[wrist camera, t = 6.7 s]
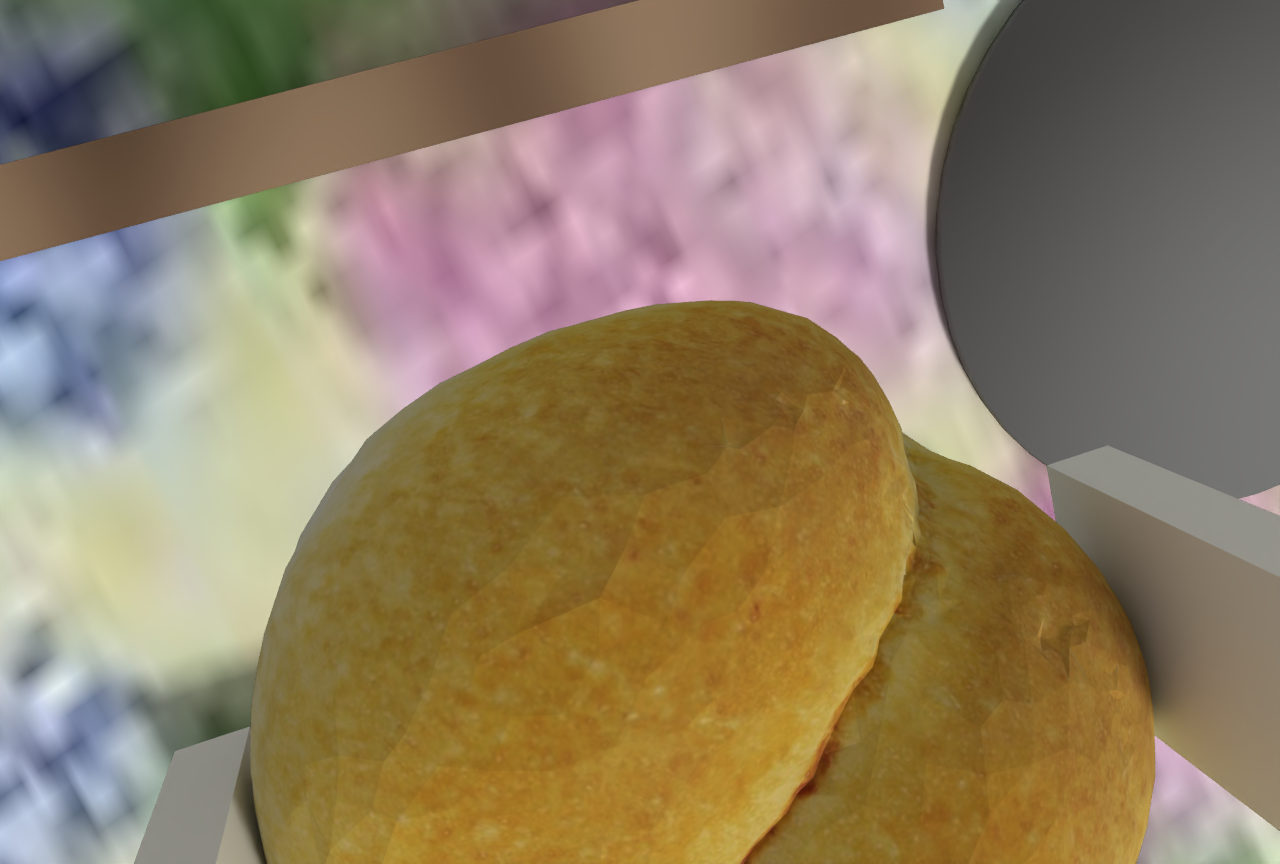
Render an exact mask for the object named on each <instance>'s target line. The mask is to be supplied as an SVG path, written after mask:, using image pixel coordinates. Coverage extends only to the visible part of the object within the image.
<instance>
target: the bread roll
mask: <svg viewBox="0 0 1280 864" xmlns="http://www.w3.org/2000/svg"><path fill="white" fill-rule="evenodd" d="M250 766H251V777H252V783H253V795H254V804H255V813H256V818H257V822H258V827H259V831H260V836H261V840H262V845H263V849H264V854H265V858H266V862H267V864H1136V862H1137V859H1138V856H1139V853H1140V849H1141V846H1142V842H1143V839H1144V836H1145V832H1146V829H1147V824H1148V818H1149V811H1150V804H1151V798H1152V792H1153V787H1154V781H1155V739H1154V715H1153V703H1152V695H1151V689H1150V683H1149V678H1148V673H1147V669H1146V666H1145V662H1144V659H1143V655H1142V652H1141V649H1140V647H1139V644H1138V641H1137V638H1136V636H1135V633H1134V630H1133V627H1132V625H1131V622H1130V620H1129V619H1128V617H1127V615H1126V613H1125V611H1124V609H1123V608H1122V606H1121V604H1120V602H1119V600H1118V598H1117V597H1116V595H1115V594H1114V592H1113V590H1112V589H1111V587H1110V585H1109V584H1108V582H1107V581H1106V579H1105V577H1104V576H1103V574H1102V572H1101V571H1100V569H1099V568H1098V567H1097V566H1096V565H1095V564H1094V562H1093V561H1092V560H1091V559H1090V558H1089V557H1088V555H1087V554H1086V553H1085V552H1084V551H1083V550H1082V549H1081V547H1080V546H1079V545H1078V544H1077V543H1076V542H1075V540H1074V539H1073V538H1072V537H1071V536H1070V535H1069V533H1068V532H1067V531H1066V530H1065V529H1064V528H1063V527H1062V526H1060V525H1059V524H1058V523H1057V522H1055V521H1054V520H1053V519H1052V518H1051V517H1049V516H1048V515H1047V514H1046V513H1045V512H1043V511H1042V510H1041V509H1040V508H1039V507H1037V506H1036V505H1035V504H1034V503H1033V502H1031V501H1030V500H1029V499H1028V498H1026V497H1025V496H1024V495H1023V494H1022V493H1020V492H1019V491H1018V490H1016V489H1014V488H1012V487H1011V486H1009V485H1007V484H1005V483H1003V482H1001V481H999V480H997V479H995V478H993V477H991V476H989V475H987V474H986V473H984V472H982V471H980V470H978V469H976V468H974V467H972V466H970V465H967V464H964V463H960V462H957V461H954V460H951V459H948V458H946V457H944V456H941V455H939V454H936V453H934V452H932V451H929V450H928V449H926V448H925V447H923V446H922V445H920V444H919V443H917V442H916V441H914V440H913V439H911V438H910V437H908V436H907V435H905V434H904V433H903V432H902V429H901V427H900V424H899V422H898V420H897V418H896V416H895V414H894V411H893V409H892V407H891V405H890V403H889V401H888V399H887V397H886V395H885V394H884V392H883V390H882V389H881V387H880V385H879V384H878V382H877V380H876V379H875V377H874V375H873V374H872V373H871V371H870V370H869V369H868V368H867V366H866V365H865V364H864V363H863V361H862V360H861V359H860V358H859V357H858V356H857V355H856V354H855V353H853V352H852V351H851V350H850V349H848V348H847V347H846V346H845V345H844V344H843V343H842V342H841V341H840V340H839V339H838V338H836V337H835V336H833V335H832V334H830V333H829V332H827V331H826V330H824V329H823V328H821V327H820V326H818V325H817V324H815V323H814V322H812V321H811V320H809V319H808V318H805V317H801V316H798V315H794V314H790V313H787V312H783V311H780V310H776V309H773V308H769V307H766V306H762V305H759V304H755V303H752V302H741V301H696V302H682V303H669V304H656V305H651V306H646V307H641V308H636V309H631V310H626V311H622V312H618V313H615V314H611V315H608V316H604V317H601V318H597V319H593V320H590V321H586V322H583V323H579V324H576V325H572V326H568V327H564V328H560V329H556V330H552V331H549V332H547V333H544V334H542V335H540V336H537V337H535V338H533V339H530V340H528V341H526V342H523V343H521V344H519V345H516V346H514V347H512V348H509V349H507V350H505V351H504V352H502V353H500V354H498V355H496V356H494V357H492V358H490V359H488V360H486V361H484V362H482V363H480V364H478V365H476V366H474V367H472V368H470V369H468V370H466V371H464V372H462V373H460V374H458V375H456V376H454V377H452V378H450V379H448V380H446V381H444V382H441V383H439V384H438V385H437V386H435V387H434V388H432V389H431V390H429V391H428V392H426V393H425V394H424V395H422V396H421V397H419V398H418V399H416V400H415V401H414V402H412V403H411V404H409V405H408V406H406V407H405V408H404V409H402V410H401V411H400V412H399V413H398V414H396V415H395V416H394V417H393V418H392V419H390V420H389V421H388V422H387V423H386V424H384V425H383V426H382V427H381V428H380V429H378V430H377V431H376V432H375V433H374V434H372V435H371V436H370V437H369V438H368V439H366V441H365V442H364V444H363V445H362V447H361V448H360V450H359V451H358V453H357V454H356V456H355V457H354V459H353V460H352V461H351V463H350V464H349V465H348V466H347V467H346V468H345V469H344V470H343V471H342V472H341V473H340V474H339V476H338V477H337V478H336V479H335V480H334V481H333V482H332V484H331V485H330V487H329V489H328V490H327V492H326V494H325V495H324V497H323V499H322V500H321V502H320V504H319V505H318V507H317V509H316V510H315V512H314V514H313V515H312V517H311V519H310V520H309V522H308V524H307V525H306V527H305V529H304V530H303V532H302V534H301V535H300V538H299V541H298V544H297V546H296V549H295V552H294V554H293V556H292V558H291V560H290V561H289V563H288V565H287V567H286V569H285V572H284V575H283V578H282V581H281V584H280V587H279V590H278V593H277V596H276V599H275V602H274V605H273V608H272V611H271V614H270V617H269V621H268V624H267V627H266V630H265V633H264V637H263V642H262V647H261V652H260V657H259V662H258V667H257V673H256V679H255V686H254V692H253V699H252V705H251V749H250Z"/></svg>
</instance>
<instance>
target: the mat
mask: <svg viewBox="0 0 1280 864" xmlns="http://www.w3.org/2000/svg"><path fill="white" fill-rule="evenodd" d="M936 256H937V265H938V274H939V282H940V291H941V298H942V302H943V306H944V310H945V314H946V318H947V322H948V326H949V330H950V334H951V337H952V339H953V342H954V344H955V347H956V349H957V352H958V355H959V357H960V360H961V362H962V365H963V367H964V370H965V372H966V373H967V375H968V377H969V379H970V380H971V382H972V384H973V386H974V387H975V389H976V391H977V393H978V394H979V396H980V398H981V400H982V402H983V403H984V404H985V405H986V407H987V408H988V409H989V411H990V412H991V413H992V415H993V416H994V417H995V418H996V420H997V421H998V422H999V424H1000V425H1001V426H1002V427H1003V429H1004V430H1005V431H1006V432H1007V433H1008V434H1009V435H1010V436H1011V437H1012V438H1013V439H1015V440H1016V441H1017V442H1018V443H1019V444H1020V445H1021V446H1022V447H1023V448H1024V449H1025V450H1026V451H1027V452H1028V453H1029V454H1031V455H1032V456H1033V457H1035V458H1036V459H1038V460H1039V461H1041V462H1042V463H1043V464H1045V465H1046V466H1047V465H1049V464H1053V463H1056V462H1059V461H1062V460H1065V459H1068V458H1071V457H1074V456H1077V455H1080V454H1083V453H1086V452H1089V451H1092V450H1095V449H1098V448H1101V447H1105V446H1110V447H1113V448H1115V449H1118V450H1120V451H1123V452H1125V453H1128V454H1130V455H1132V456H1135V457H1137V458H1140V459H1142V460H1145V461H1147V462H1150V463H1152V464H1154V465H1157V466H1159V467H1162V468H1164V469H1167V470H1169V471H1171V472H1174V473H1176V474H1179V475H1181V476H1184V477H1186V478H1189V479H1191V480H1193V481H1196V482H1198V483H1201V484H1203V485H1206V486H1208V487H1211V488H1213V489H1215V490H1218V491H1220V492H1223V493H1225V494H1228V495H1230V496H1233V497H1235V498H1237V499H1239V498H1242V497H1246V496H1250V495H1254V494H1257V493H1260V492H1263V491H1265V490H1268V489H1270V488H1272V487H1275V486H1277V485H1280V0H1023V1H1022V2H1021V3H1020V4H1019V6H1018V7H1017V8H1016V9H1015V10H1014V11H1013V13H1012V14H1011V16H1010V17H1009V19H1008V20H1007V22H1006V23H1005V25H1004V26H1003V28H1002V29H1001V31H1000V32H999V34H998V35H997V37H996V38H995V40H994V41H993V43H992V44H991V46H990V47H989V49H988V51H987V53H986V55H985V57H984V58H983V60H982V62H981V64H980V66H979V68H978V70H977V72H976V74H975V76H974V78H973V80H972V82H971V84H970V86H969V88H968V90H967V93H966V96H965V98H964V101H963V103H962V106H961V109H960V111H959V114H958V117H957V119H956V122H955V125H954V127H953V130H952V134H951V139H950V143H949V147H948V151H947V155H946V159H945V163H944V167H943V171H942V177H941V185H940V193H939V201H938V209H937V254H936Z"/></svg>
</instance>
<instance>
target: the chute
mask: <svg viewBox="0 0 1280 864" xmlns="http://www.w3.org/2000/svg"><path fill="white" fill-rule="evenodd" d="M941 9H944V5H943V0H638V1H634V2H630V3H626V4H622V5H618V6H614V7H611V8H607V9H603V10H599V11H595V12H591V13H587V14H583V15H580V16H576V17H572V18H568V19H564V20H560V21H556V22H552V23H549V24H545V25H541V26H537V27H533V28H529V29H525V30H521V31H517V32H514V33H510V34H506V35H502V36H498V37H494V38H490V39H486V40H483V41H479V42H475V43H471V44H467V45H463V46H459V47H455V48H451V49H448V50H444V51H440V52H436V53H432V54H428V55H424V56H420V57H417V58H413V59H409V60H405V61H401V62H397V63H393V64H389V65H386V66H382V67H378V68H374V69H370V70H366V71H362V72H358V73H354V74H351V75H347V76H343V77H339V78H335V79H331V80H327V81H323V82H320V83H316V84H312V85H308V86H304V87H300V88H296V89H292V90H288V91H285V92H281V93H277V94H273V95H269V96H265V97H261V98H257V99H254V100H250V101H246V102H242V103H238V104H234V105H230V106H226V107H222V108H219V109H215V110H211V111H207V112H203V113H199V114H195V115H191V116H188V117H184V118H180V119H176V120H172V121H168V122H164V123H160V124H157V125H153V126H149V127H145V128H141V129H137V130H133V131H129V132H125V133H122V134H118V135H114V136H110V137H106V138H102V139H98V140H94V141H91V142H87V143H83V144H79V145H75V146H71V147H67V148H63V149H59V150H56V151H52V152H48V153H44V154H40V155H36V156H32V157H28V158H25V159H21V160H17V161H13V162H9V163H5V164H1V165H0V261H3V260H6V259H10V258H14V257H17V256H21V255H25V254H29V253H32V252H36V251H40V250H44V249H47V248H51V247H55V246H59V245H62V244H66V243H70V242H74V241H77V240H81V239H85V238H88V237H92V236H96V235H100V234H103V233H107V232H111V231H115V230H118V229H122V228H126V227H130V226H133V225H137V224H141V223H145V222H148V221H152V220H156V219H159V218H163V217H167V216H171V215H174V214H178V213H182V212H186V211H189V210H193V209H197V208H201V207H204V206H208V205H212V204H216V203H219V202H223V201H227V200H230V199H234V198H238V197H242V196H245V195H249V194H253V193H257V192H260V191H264V190H268V189H272V188H275V187H279V186H283V185H287V184H290V183H294V182H298V181H301V180H305V179H309V178H313V177H316V176H320V175H324V174H328V173H331V172H335V171H339V170H343V169H346V168H350V167H354V166H358V165H361V164H365V163H369V162H372V161H376V160H380V159H384V158H387V157H391V156H395V155H399V154H402V153H406V152H410V151H414V150H417V149H421V148H425V147H429V146H432V145H436V144H440V143H443V142H447V141H451V140H455V139H458V138H462V137H466V136H470V135H473V134H477V133H481V132H485V131H488V130H492V129H496V128H500V127H503V126H507V125H511V124H514V123H518V122H522V121H526V120H529V119H533V118H537V117H541V116H544V115H548V114H552V113H556V112H559V111H563V110H567V109H571V108H574V107H578V106H582V105H585V104H589V103H593V102H597V101H600V100H604V99H608V98H612V97H615V96H619V95H623V94H627V93H630V92H634V91H638V90H642V89H645V88H649V87H653V86H656V85H660V84H664V83H668V82H671V81H675V80H679V79H683V78H686V77H690V76H694V75H698V74H701V73H705V72H709V71H713V70H716V69H720V68H724V67H727V66H731V65H735V64H739V63H742V62H746V61H750V60H754V59H757V58H761V57H765V56H769V55H772V54H776V53H780V52H784V51H787V50H791V49H795V48H798V47H802V46H806V45H810V44H813V43H817V42H821V41H825V40H828V39H832V38H836V37H840V36H843V35H847V34H851V33H855V32H858V31H862V30H866V29H870V28H873V27H877V26H881V25H884V24H888V23H892V22H896V21H899V20H903V19H907V18H911V17H914V16H918V15H922V14H926V13H929V12H933V11H937V10H941Z"/></svg>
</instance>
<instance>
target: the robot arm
mask: <svg viewBox="0 0 1280 864" xmlns="http://www.w3.org/2000/svg"><path fill="white" fill-rule="evenodd" d="M1047 471H1048V477H1049V483H1050V489H1051V495H1052V501H1053V507H1054V513H1055V519H1056V522H1057V523H1058V524H1059V525H1060V526H1062V527H1063V528H1064V529H1065V530H1066V531H1067V532H1068V533H1069V535H1070V536H1071V537H1072V538H1073V539H1074V540H1075V542H1076V543H1077V544H1078V545H1079V546H1080V547H1081V549H1082V550H1083V551H1084V552H1085V553H1086V554H1087V555H1088V557H1089V558H1090V559H1091V560H1092V561H1093V562H1094V564H1095V565H1096V566H1097V567H1098V568H1099V569H1100V571H1101V572H1102V574H1103V576H1104V577H1105V579H1106V581H1107V582H1108V584H1109V585H1110V587H1111V589H1112V590H1113V592H1114V594H1115V595H1116V597H1117V598H1118V600H1119V602H1120V604H1121V606H1122V608H1123V609H1124V611H1125V613H1126V615H1127V617H1128V619H1129V620H1130V622H1131V625H1132V627H1133V630H1134V633H1135V636H1136V638H1137V641H1138V644H1139V647H1140V649H1141V652H1142V655H1143V659H1144V662H1145V666H1146V669H1147V673H1148V678H1149V683H1150V689H1151V695H1152V703H1153V715H1154V735H1155V736H1156V737H1157V738H1159V739H1160V740H1161V741H1163V742H1164V743H1165V744H1167V745H1168V746H1169V747H1171V748H1172V749H1173V750H1174V751H1176V752H1177V753H1178V754H1180V755H1181V756H1182V757H1184V758H1185V759H1186V760H1188V761H1189V762H1190V763H1191V764H1193V765H1194V766H1195V767H1197V768H1198V769H1199V770H1201V771H1202V772H1203V773H1205V774H1206V775H1207V776H1208V777H1210V778H1211V779H1212V780H1214V781H1215V782H1216V783H1218V784H1219V785H1220V786H1222V787H1223V788H1224V789H1225V790H1227V791H1228V792H1229V793H1231V794H1232V795H1233V796H1235V797H1236V798H1237V799H1238V800H1240V801H1241V802H1242V803H1244V804H1245V805H1246V806H1248V807H1249V808H1250V809H1252V810H1253V811H1254V812H1255V813H1257V814H1258V815H1259V816H1261V817H1262V818H1263V819H1265V820H1266V821H1267V822H1269V823H1270V824H1271V825H1272V826H1274V827H1275V828H1276V829H1278V830H1279V831H1280V516H1279V515H1276V514H1274V513H1272V512H1269V511H1267V510H1264V509H1262V508H1259V507H1257V506H1255V505H1252V504H1250V503H1247V502H1245V501H1242V500H1240V499H1237V498H1235V497H1233V496H1230V495H1228V494H1225V493H1223V492H1220V491H1218V490H1215V489H1213V488H1211V487H1208V486H1206V485H1203V484H1201V483H1198V482H1196V481H1193V480H1191V479H1189V478H1186V477H1184V476H1181V475H1179V474H1176V473H1174V472H1171V471H1169V470H1167V469H1164V468H1162V467H1159V466H1157V465H1154V464H1152V463H1150V462H1147V461H1145V460H1142V459H1140V458H1137V457H1135V456H1132V455H1130V454H1128V453H1125V452H1123V451H1120V450H1118V449H1115V448H1113V447H1110V446H1105V447H1101V448H1098V449H1095V450H1092V451H1089V452H1086V453H1083V454H1080V455H1077V456H1074V457H1071V458H1068V459H1065V460H1062V461H1059V462H1056V463H1053V464H1049V465H1047ZM250 749H251V728H250V727H247V728H244V729H241V730H238V731H235V732H231V733H228V734H225V735H222V736H219V737H216V738H213V739H210V740H207V741H204V742H201V743H198V744H195V745H192V746H189V747H186V748H183V749H180V750H177V751H175V752H174V755H173V758H172V760H171V763H170V766H169V769H168V771H167V774H166V777H165V780H164V782H163V785H162V788H161V791H160V793H159V796H158V799H157V802H156V804H155V807H154V810H153V812H152V815H151V818H150V821H149V823H148V826H147V829H146V832H145V834H144V837H143V840H142V843H141V845H140V848H139V851H138V854H137V856H136V859H135V862H134V864H267V862H266V858H265V854H264V849H263V845H262V840H261V836H260V831H259V827H258V822H257V818H256V813H255V804H254V795H253V783H252V777H251V766H250Z"/></svg>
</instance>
